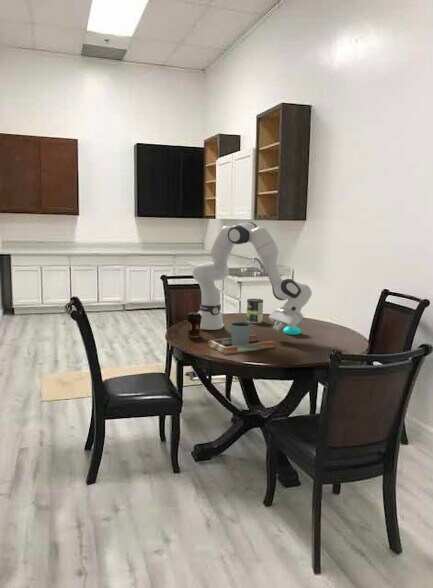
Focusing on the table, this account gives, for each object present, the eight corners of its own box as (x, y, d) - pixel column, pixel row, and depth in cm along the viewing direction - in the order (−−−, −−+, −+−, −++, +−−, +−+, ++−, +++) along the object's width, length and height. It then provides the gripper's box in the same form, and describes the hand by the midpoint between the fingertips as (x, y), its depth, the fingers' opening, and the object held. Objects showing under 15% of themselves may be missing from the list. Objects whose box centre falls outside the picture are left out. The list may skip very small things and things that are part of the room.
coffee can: (250, 323, 307) (250, 301, 305) (244, 320, 317) (244, 298, 315) (265, 322, 310) (265, 300, 308) (258, 319, 320) (259, 298, 318)
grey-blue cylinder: (247, 350, 245) (248, 326, 243) (227, 348, 247) (228, 325, 246) (251, 345, 254) (252, 322, 252) (232, 343, 257) (233, 321, 255)
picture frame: (208, 346, 251) (208, 340, 251) (255, 339, 265) (255, 334, 265) (225, 354, 237) (225, 348, 236) (273, 347, 251) (274, 341, 250)
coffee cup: (187, 338, 267) (187, 315, 265) (184, 334, 275) (184, 312, 273) (203, 337, 269) (203, 314, 267) (199, 334, 277) (199, 311, 275)
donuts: (303, 315, 283) (298, 318, 274) (303, 332, 284) (297, 336, 276) (287, 314, 287) (281, 316, 279) (286, 330, 289) (280, 334, 280)
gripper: (275, 303, 271) (260, 321, 268) (299, 309, 254) (283, 329, 251) (281, 310, 274) (267, 329, 271) (305, 317, 257) (289, 337, 253)
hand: (275, 329), depth 261 cm, fingers closed
